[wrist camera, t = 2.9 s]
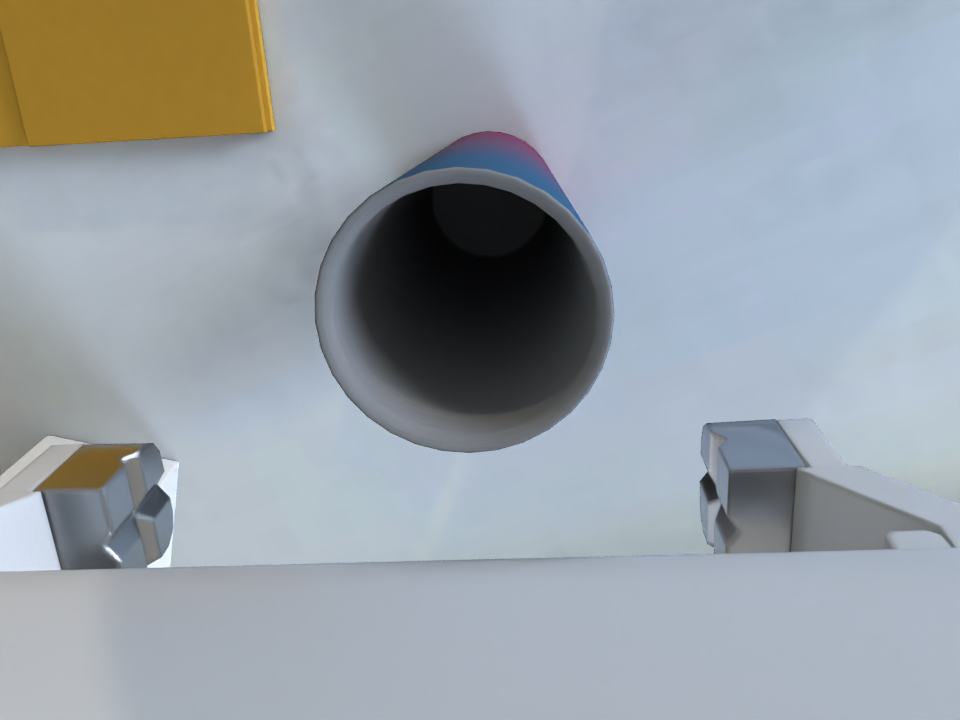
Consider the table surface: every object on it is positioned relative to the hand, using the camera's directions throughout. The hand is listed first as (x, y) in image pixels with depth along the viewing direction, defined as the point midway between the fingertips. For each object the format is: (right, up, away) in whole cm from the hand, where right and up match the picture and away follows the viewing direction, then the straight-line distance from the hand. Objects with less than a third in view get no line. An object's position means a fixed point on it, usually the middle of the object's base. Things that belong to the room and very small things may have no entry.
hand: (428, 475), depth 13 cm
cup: (+1, +8, +21) cm, 22 cm away
